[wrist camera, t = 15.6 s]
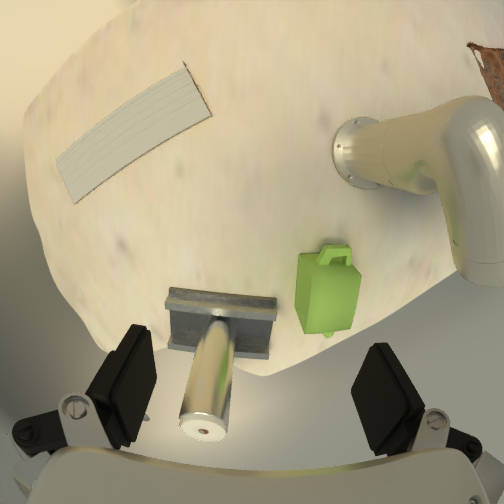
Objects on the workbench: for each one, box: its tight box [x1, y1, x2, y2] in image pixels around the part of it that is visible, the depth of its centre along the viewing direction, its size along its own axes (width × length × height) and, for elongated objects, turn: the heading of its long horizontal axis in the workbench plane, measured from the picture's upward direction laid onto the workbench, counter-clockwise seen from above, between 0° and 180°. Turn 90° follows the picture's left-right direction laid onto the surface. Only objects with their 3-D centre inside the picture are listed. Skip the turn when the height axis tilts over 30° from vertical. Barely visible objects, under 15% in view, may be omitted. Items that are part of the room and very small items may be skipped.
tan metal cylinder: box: [179, 315, 237, 442], centre depth 39 cm, size 6×6×25 cm
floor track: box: [165, 287, 277, 360], centre depth 50 cm, size 20×13×4 cm, turn 84°
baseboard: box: [56, 64, 212, 204], centre depth 39 cm, size 31×3×12 cm
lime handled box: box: [295, 245, 361, 338], centre depth 45 cm, size 18×10×10 cm, turn 0°
